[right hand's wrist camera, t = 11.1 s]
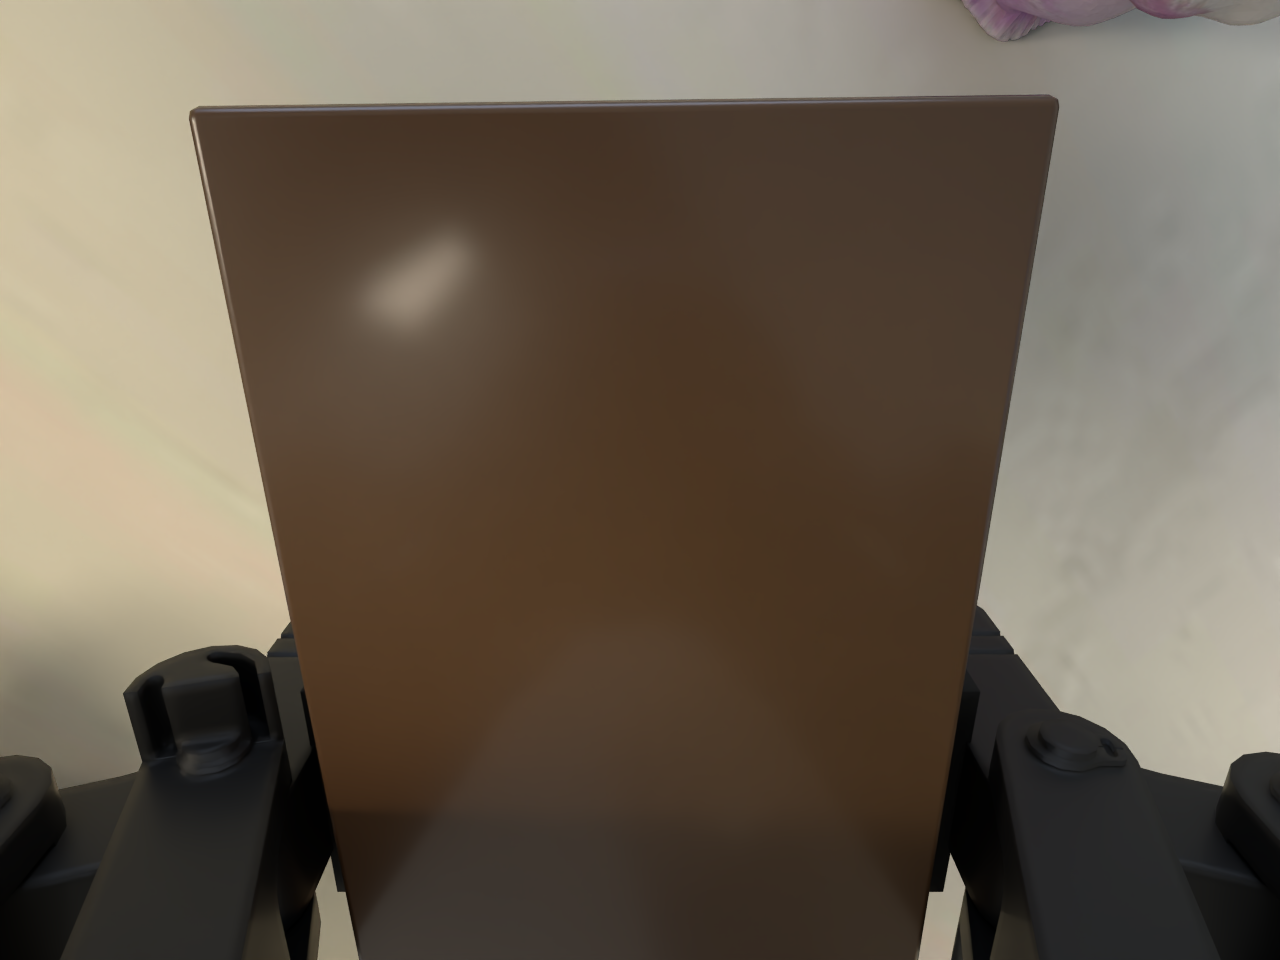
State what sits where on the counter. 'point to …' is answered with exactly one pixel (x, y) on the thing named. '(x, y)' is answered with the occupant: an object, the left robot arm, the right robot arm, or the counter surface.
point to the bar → (631, 498)
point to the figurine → (1108, 12)
